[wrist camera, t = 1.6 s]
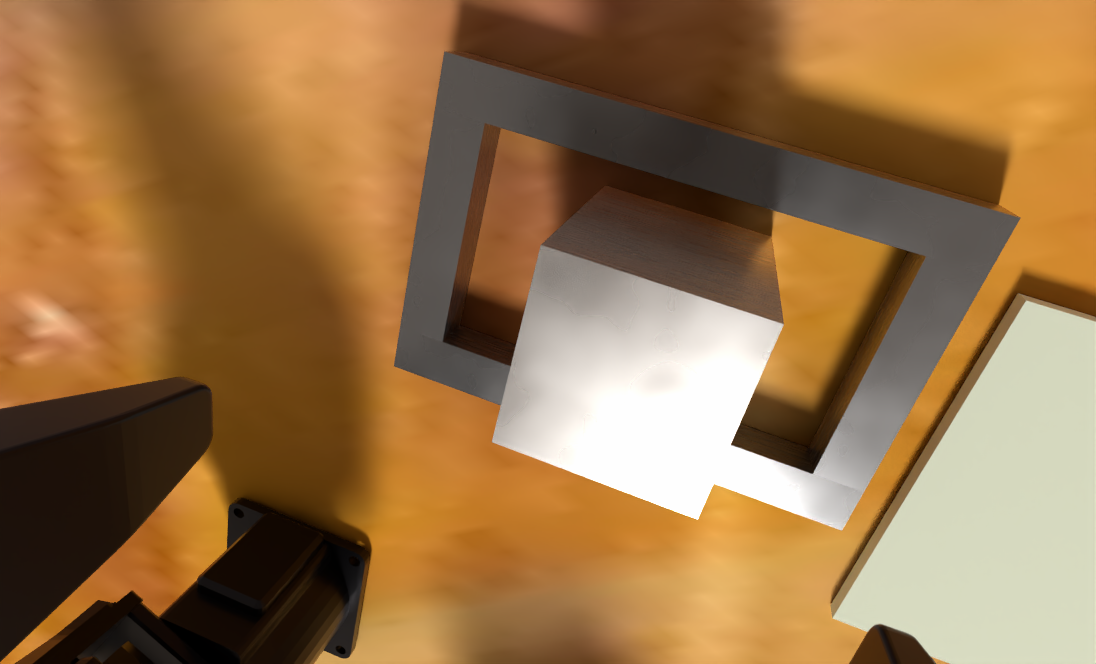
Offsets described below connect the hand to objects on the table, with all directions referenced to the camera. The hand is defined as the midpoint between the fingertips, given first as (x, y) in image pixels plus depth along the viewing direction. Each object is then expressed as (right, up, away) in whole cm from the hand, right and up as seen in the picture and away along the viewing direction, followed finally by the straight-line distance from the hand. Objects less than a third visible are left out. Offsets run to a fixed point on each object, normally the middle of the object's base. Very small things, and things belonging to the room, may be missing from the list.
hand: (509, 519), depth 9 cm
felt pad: (+17, -4, +11) cm, 21 cm away
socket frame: (+4, +4, +12) cm, 13 cm away
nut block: (+4, +4, +12) cm, 13 cm away
